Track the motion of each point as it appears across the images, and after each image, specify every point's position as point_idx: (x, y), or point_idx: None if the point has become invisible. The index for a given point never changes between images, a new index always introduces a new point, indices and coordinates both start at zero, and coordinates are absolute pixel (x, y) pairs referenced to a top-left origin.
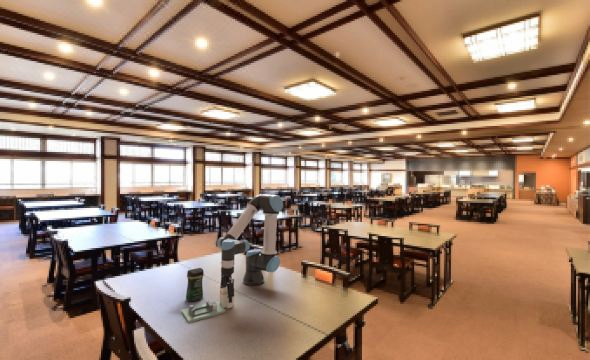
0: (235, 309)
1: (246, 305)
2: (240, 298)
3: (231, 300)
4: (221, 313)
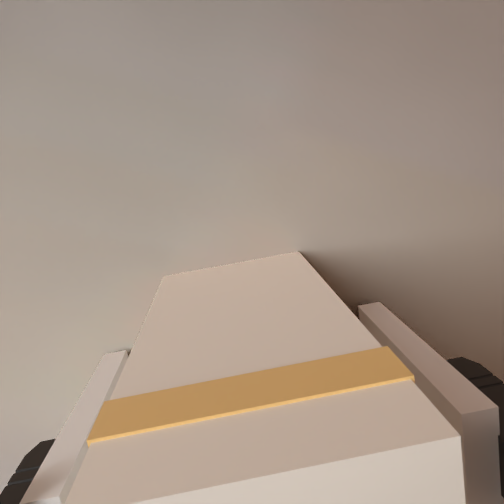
0: (459, 260)
1: (408, 30)
2: (45, 46)
3: (496, 390)
4: None
